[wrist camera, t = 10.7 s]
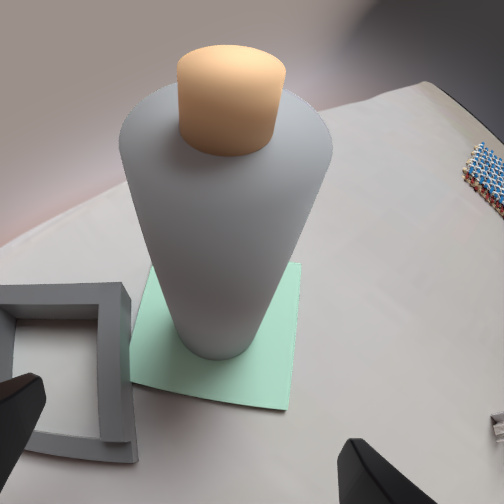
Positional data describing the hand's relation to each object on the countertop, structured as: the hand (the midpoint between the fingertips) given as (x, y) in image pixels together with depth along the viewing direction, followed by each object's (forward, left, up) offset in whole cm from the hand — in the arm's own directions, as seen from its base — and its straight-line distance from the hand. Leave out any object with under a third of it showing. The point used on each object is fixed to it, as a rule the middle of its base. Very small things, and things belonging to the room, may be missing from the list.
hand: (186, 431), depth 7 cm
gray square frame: (-6, +6, -9) cm, 12 cm away
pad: (+4, +4, -9) cm, 11 cm away
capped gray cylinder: (+4, +4, -8) cm, 10 cm away
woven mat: (+39, -2, -9) cm, 40 cm away
